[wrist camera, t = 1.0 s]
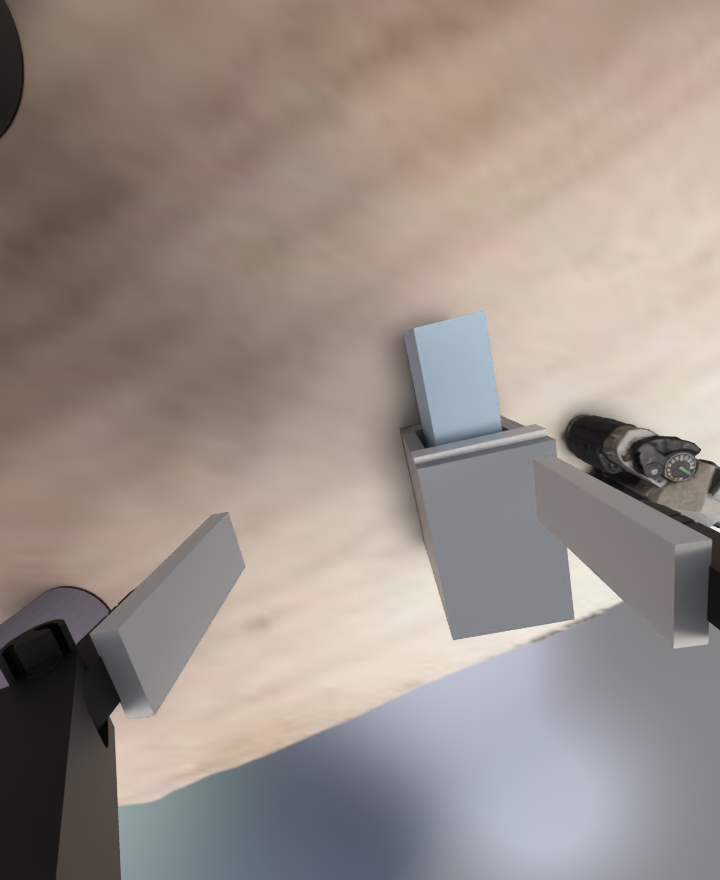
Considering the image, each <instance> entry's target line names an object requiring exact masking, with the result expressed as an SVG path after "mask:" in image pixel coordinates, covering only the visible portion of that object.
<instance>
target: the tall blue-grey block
mask: <svg viewBox="0 0 720 880" xmlns="http://www.w3.org/2000/svg"><path fill="white" fill-rule="evenodd" d="M404 339H405V344H406V349H407V354H408V359H409V364H410V369H411V374H412V379H413V384H414V389H415V394H416V399H417V404H418V409H419V414H420V419H421V424H422V429H423V434H424V439H425V444H426V448H430V447H434V446H439V445H444V444H448V443H453V442H457V441H462V440H466V439H471V438H475V437H480V436H484V435H489V434H494V433H498V432H502V425H501V418H500V411H499V404H498V397H497V390H496V383H495V376H494V369H493V362H492V355H491V348H490V341H489V334H488V327H487V320H486V313H485V311H481V312H477V313H473V314H469V315H465V316H461V317H457V318H453V319H449V320H445V321H441V322H437V323H433V324H429V325H425V326H421V327H417V328H413V329H412V330H410V331H409V332H407V333H406V334H404Z"/></svg>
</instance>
